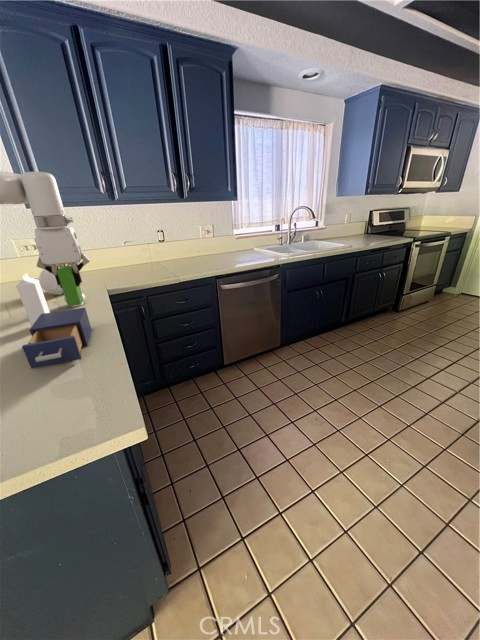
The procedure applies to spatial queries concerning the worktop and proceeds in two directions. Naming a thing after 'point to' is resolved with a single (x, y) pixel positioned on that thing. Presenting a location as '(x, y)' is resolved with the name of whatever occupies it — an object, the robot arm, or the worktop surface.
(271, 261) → the worktop surface
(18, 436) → the worktop surface
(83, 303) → the flower vase
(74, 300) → the green rectangular box
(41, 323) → the cabinet
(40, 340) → the drawer
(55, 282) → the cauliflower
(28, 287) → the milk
